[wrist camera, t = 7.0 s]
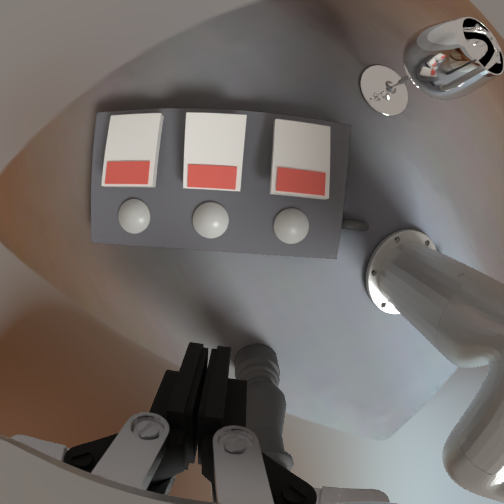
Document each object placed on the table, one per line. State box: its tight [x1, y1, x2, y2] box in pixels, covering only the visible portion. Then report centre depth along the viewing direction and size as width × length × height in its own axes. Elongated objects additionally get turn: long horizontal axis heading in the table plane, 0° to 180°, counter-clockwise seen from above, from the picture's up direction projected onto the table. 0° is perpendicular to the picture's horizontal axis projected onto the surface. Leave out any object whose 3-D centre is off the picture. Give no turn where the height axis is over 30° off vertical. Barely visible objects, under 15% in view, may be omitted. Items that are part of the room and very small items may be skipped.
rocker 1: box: [101, 113, 164, 187], centre depth 28 cm, size 6×8×1 cm
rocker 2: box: [183, 112, 247, 192], centre depth 28 cm, size 6×8×1 cm
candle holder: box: [235, 344, 294, 471], centre depth 29 cm, size 6×6×25 cm
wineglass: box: [360, 17, 504, 116], centre depth 22 cm, size 8×8×20 cm
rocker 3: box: [270, 119, 330, 200], centre depth 29 cm, size 6×8×1 cm
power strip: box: [91, 108, 368, 259], centre depth 32 cm, size 35×16×3 cm, turn 85°
